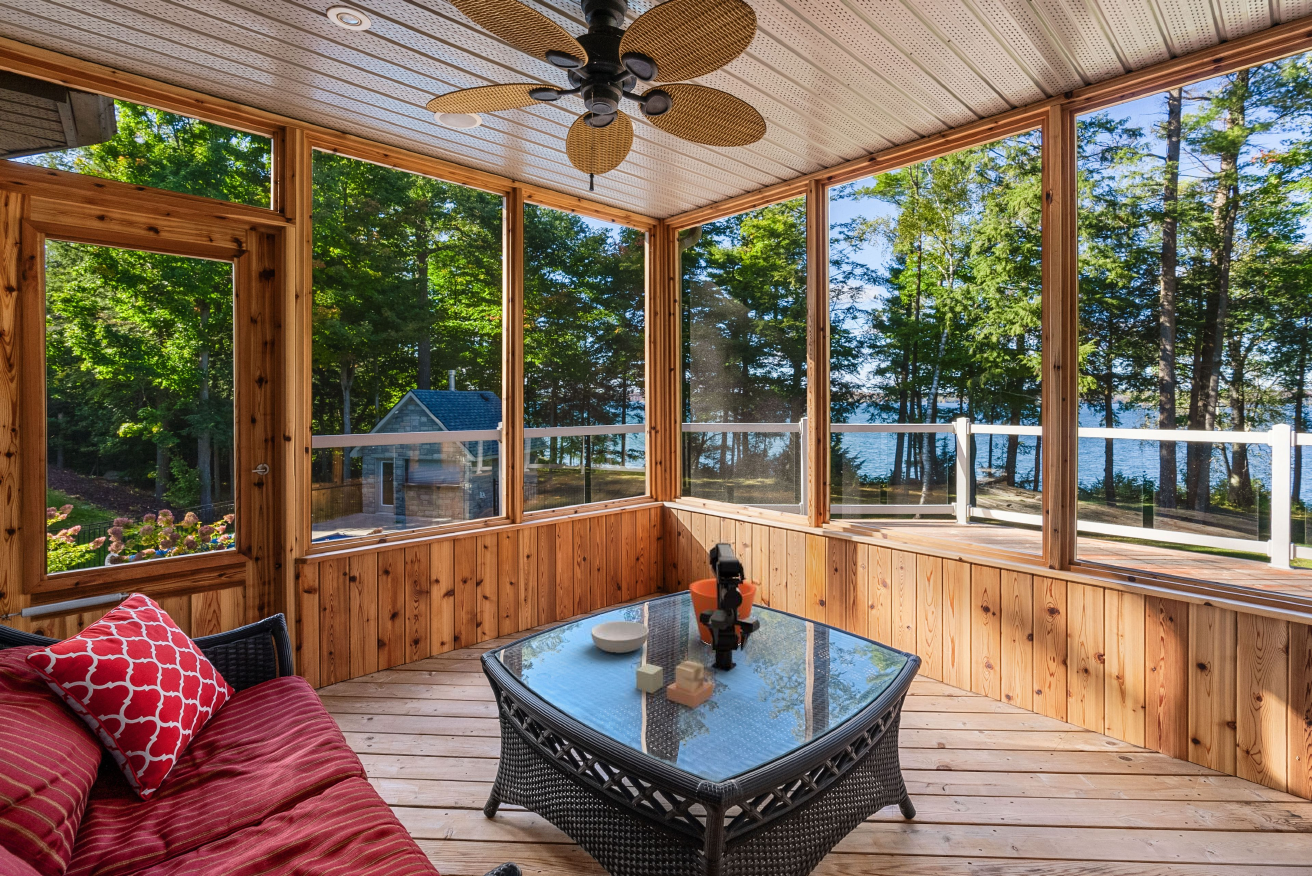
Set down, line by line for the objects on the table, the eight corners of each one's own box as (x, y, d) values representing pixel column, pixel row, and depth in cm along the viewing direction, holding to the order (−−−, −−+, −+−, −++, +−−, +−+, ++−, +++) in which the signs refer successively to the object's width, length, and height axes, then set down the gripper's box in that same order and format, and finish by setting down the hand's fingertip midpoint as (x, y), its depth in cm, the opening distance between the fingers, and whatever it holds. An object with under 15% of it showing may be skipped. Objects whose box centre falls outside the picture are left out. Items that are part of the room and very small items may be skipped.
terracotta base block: (685, 688, 203) (685, 675, 203) (712, 696, 197) (712, 684, 197) (666, 699, 195) (666, 687, 195) (694, 709, 189) (694, 696, 189)
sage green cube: (647, 681, 207) (647, 663, 206) (662, 686, 203) (662, 667, 203) (636, 688, 202) (636, 669, 201) (652, 693, 198) (652, 674, 198)
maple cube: (686, 679, 200) (686, 660, 200) (703, 684, 196) (703, 665, 196) (675, 686, 195) (675, 666, 195) (692, 691, 191) (692, 671, 191)
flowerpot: (691, 626, 258) (691, 577, 257) (755, 629, 254) (755, 579, 253) (686, 650, 233) (686, 595, 232) (756, 653, 229) (756, 598, 228)
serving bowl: (659, 645, 238) (659, 626, 238) (626, 664, 221) (626, 644, 220) (613, 634, 249) (613, 616, 249) (579, 651, 232) (579, 632, 231)
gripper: (690, 600, 201) (690, 649, 202) (744, 610, 191) (744, 662, 192) (707, 591, 210) (707, 638, 211) (760, 601, 200) (760, 650, 201)
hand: (728, 647), depth 203 cm, fingers open, 9 cm apart
